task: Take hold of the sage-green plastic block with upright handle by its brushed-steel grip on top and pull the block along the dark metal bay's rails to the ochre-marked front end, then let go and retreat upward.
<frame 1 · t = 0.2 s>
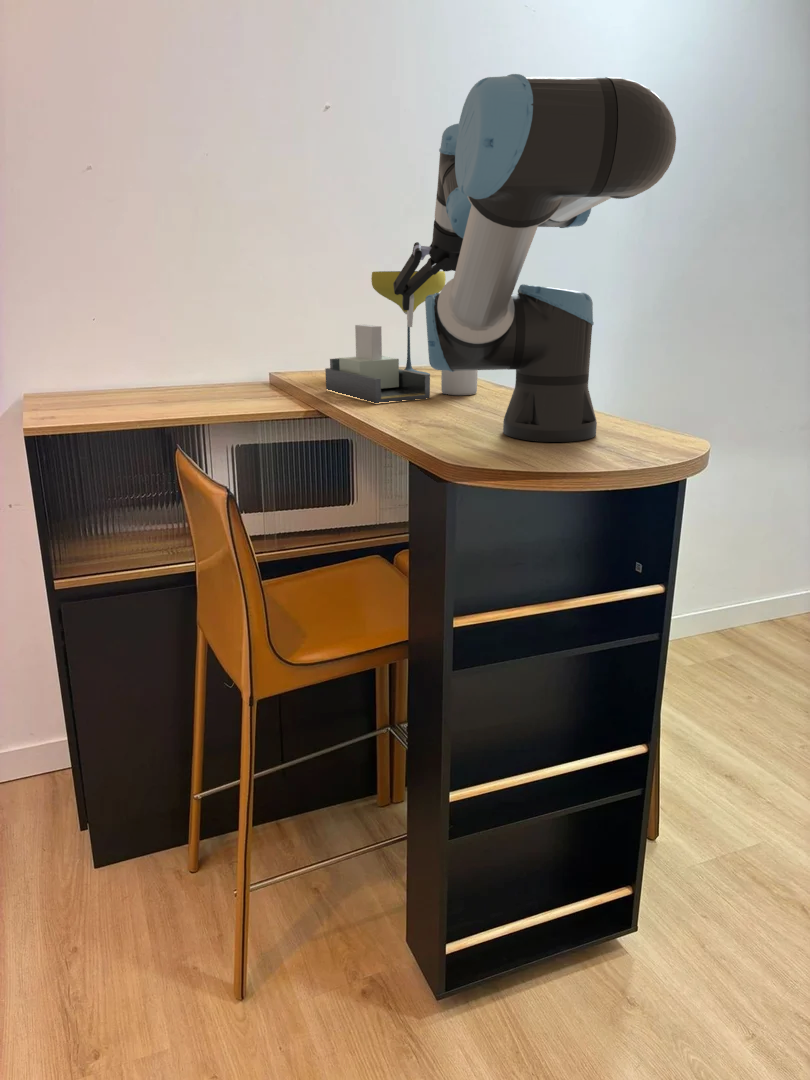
hand: (444, 322, 157), 16 cm above the worktop, tool tilted 35°, fingers open, 13 cm apart
block with upright handle: (368, 356, 177), point 8 cm above the worktop, slide at 9.0 cm
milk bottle: (459, 394, 178), on the worktop
cocktail glass: (408, 376, 208), on the worktop
bay: (376, 394, 177), on the worktop
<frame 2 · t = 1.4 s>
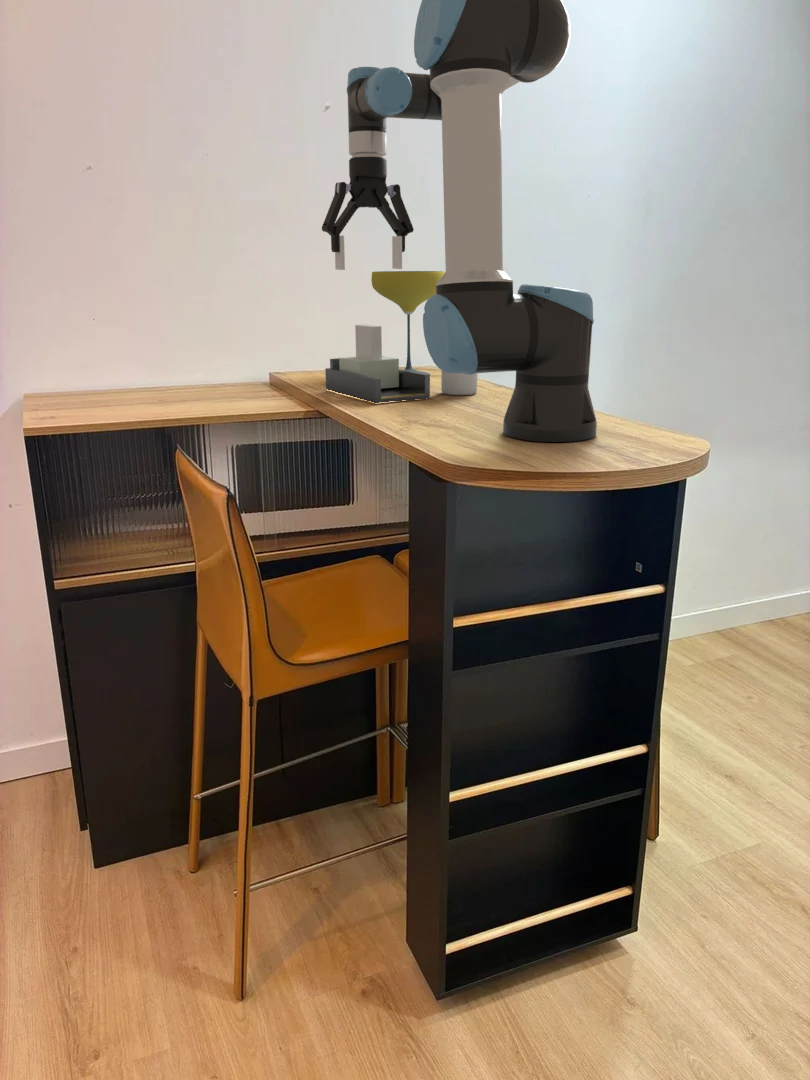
hand: (369, 269, 171), 26 cm above the worktop, tool pointing down, fingers open, 13 cm apart
nothing on the worktop moved.
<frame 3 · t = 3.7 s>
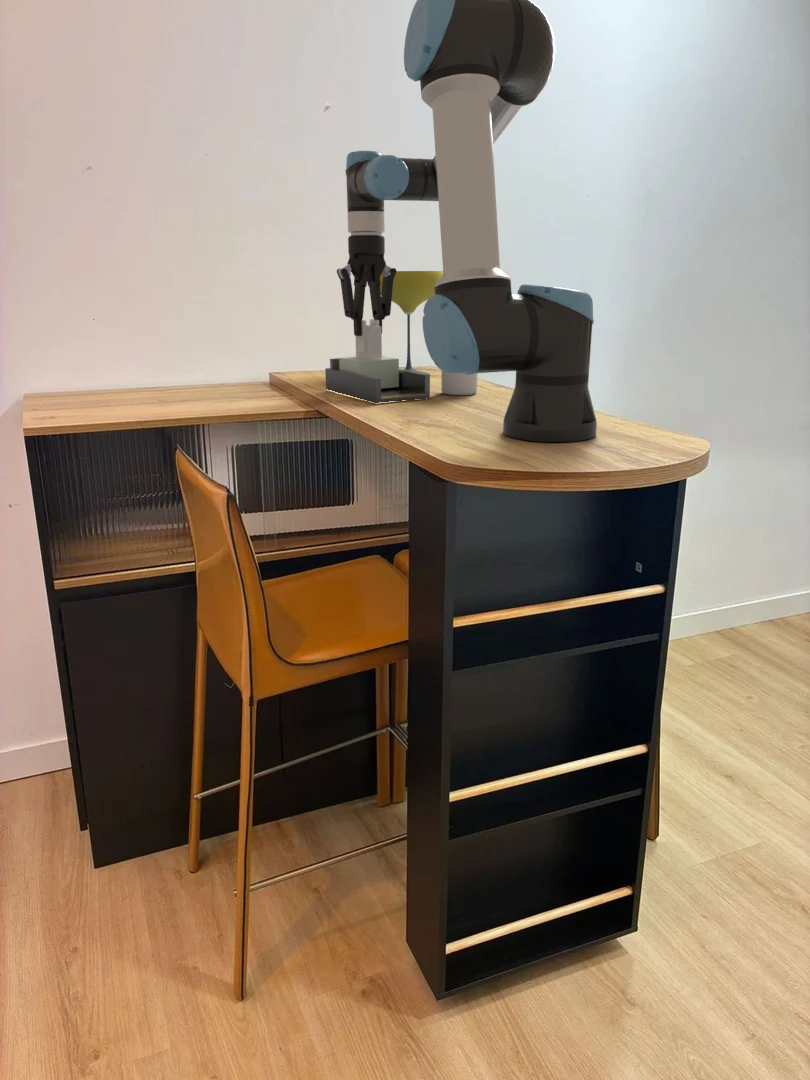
hand: (368, 351, 176), 9 cm above the worktop, tool pointing down, fingers closed on block with upright handle, 2 cm apart
block with upright handle: (368, 356, 177), point 8 cm above the worktop, slide at 9.0 cm, touching gripper
everything else where it was.
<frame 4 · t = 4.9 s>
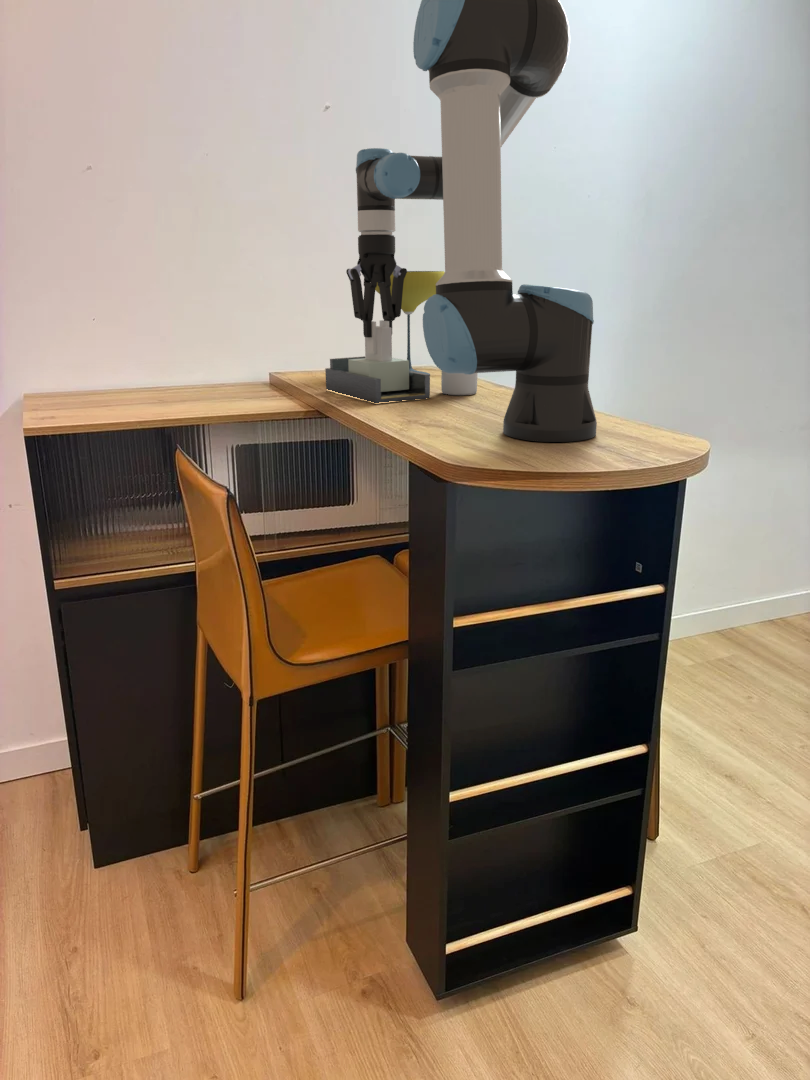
hand: (378, 352, 173), 9 cm above the worktop, tool pointing down, fingers closed on block with upright handle, 2 cm apart
block with upright handle: (378, 358, 173), point 8 cm above the worktop, slide at 4.8 cm, touching gripper
everything else where it was.
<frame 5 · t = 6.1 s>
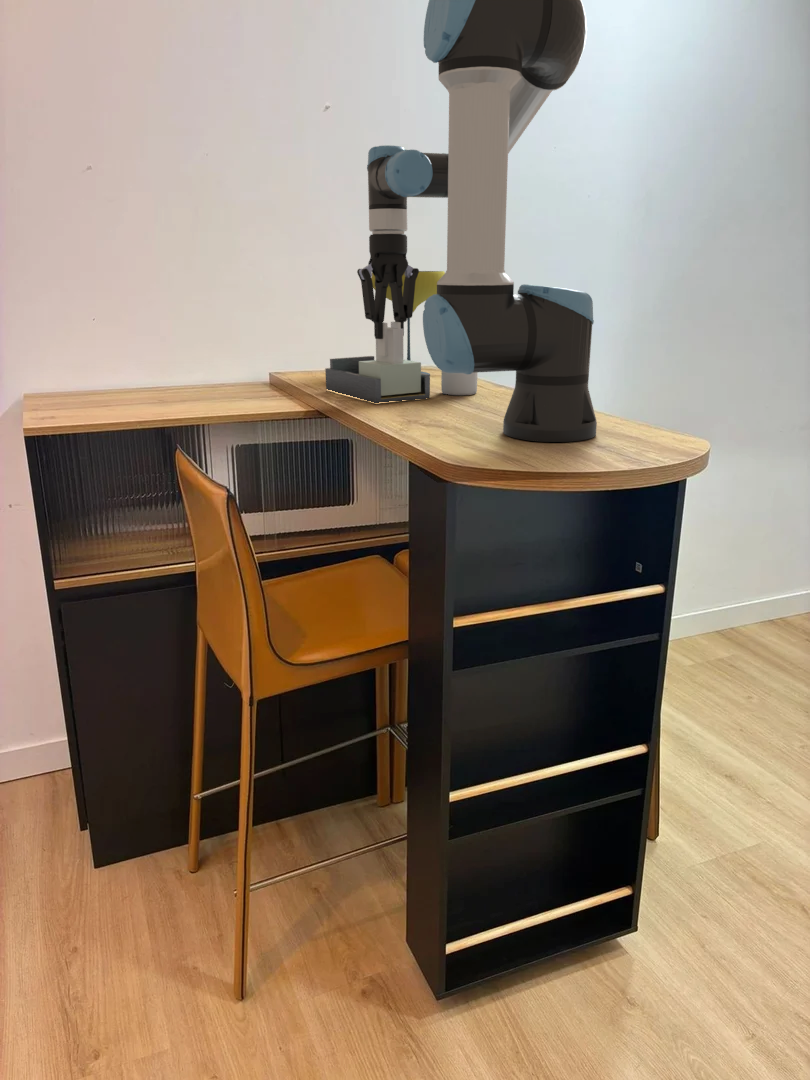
hand: (389, 354, 169), 9 cm above the worktop, tool pointing down, fingers closed on block with upright handle, 2 cm apart
block with upright handle: (389, 360, 170), point 8 cm above the worktop, slide at 0.3 cm, touching gripper
everything else where it was.
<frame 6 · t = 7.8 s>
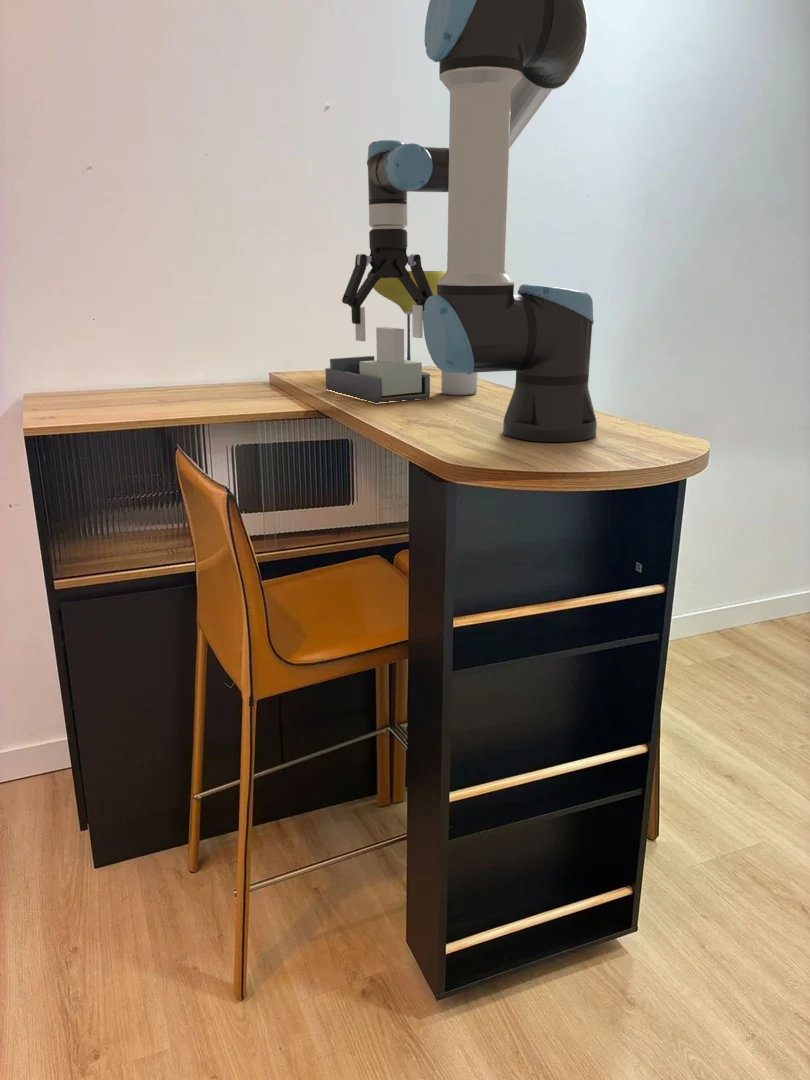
hand: (389, 339, 168), 12 cm above the worktop, tool pointing down, fingers open, 13 cm apart
block with upright handle: (390, 360, 169), point 8 cm above the worktop, slide at 0.0 cm
everything else where it was.
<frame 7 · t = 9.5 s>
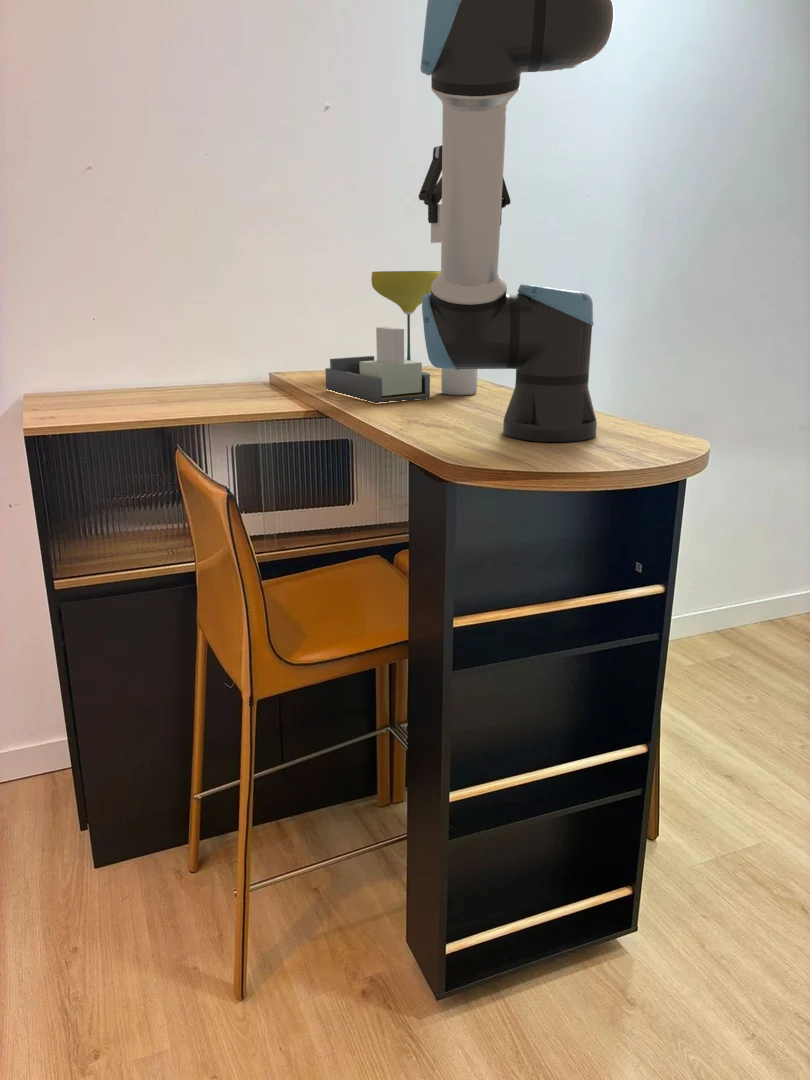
hand: (465, 243, 156), 30 cm above the worktop, tool pointing down, fingers open, 13 cm apart
nothing on the worktop moved.
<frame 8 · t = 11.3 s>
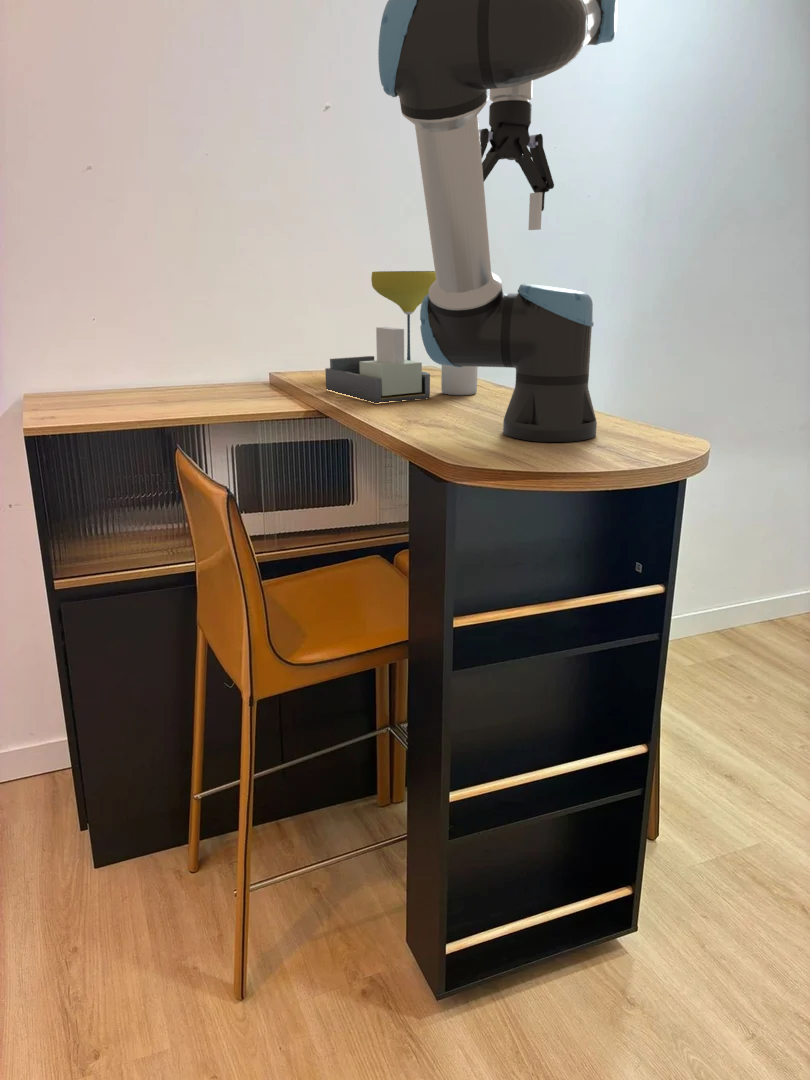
hand: (506, 229, 153), 33 cm above the worktop, tool pointing down, fingers open, 13 cm apart
nothing on the worktop moved.
at the end: block with upright handle slide at 0.0 cm; the gripper is holding nothing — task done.
